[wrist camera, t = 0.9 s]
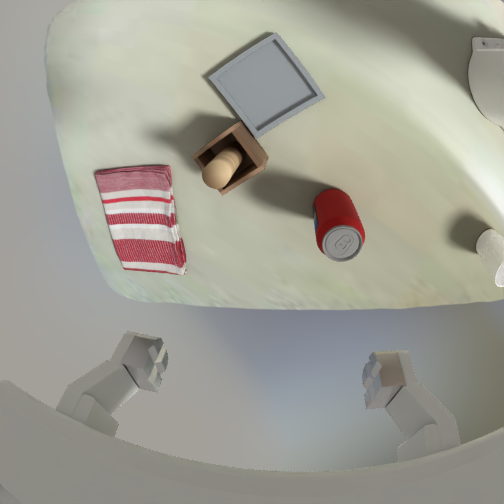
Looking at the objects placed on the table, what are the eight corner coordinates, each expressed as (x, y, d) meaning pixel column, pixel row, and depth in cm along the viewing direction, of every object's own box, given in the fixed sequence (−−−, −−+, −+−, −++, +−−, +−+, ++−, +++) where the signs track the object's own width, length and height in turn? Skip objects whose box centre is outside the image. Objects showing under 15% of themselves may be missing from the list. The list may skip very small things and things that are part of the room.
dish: (276, 33, 29) (276, 32, 28) (324, 97, 34) (325, 97, 33) (210, 77, 34) (208, 77, 33) (257, 137, 39) (256, 138, 38)
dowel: (237, 138, 39) (217, 157, 29) (250, 154, 40) (234, 179, 30) (221, 149, 40) (196, 172, 30) (233, 165, 42) (213, 193, 32)
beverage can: (304, 209, 45) (306, 249, 35) (329, 178, 41) (340, 211, 31) (334, 230, 46) (343, 274, 36) (360, 202, 42) (377, 240, 33)
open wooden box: (241, 120, 38) (232, 125, 32) (268, 157, 41) (264, 169, 35) (205, 145, 41) (191, 156, 35) (232, 180, 44) (222, 195, 38)
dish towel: (172, 162, 44) (166, 166, 42) (190, 271, 57) (186, 279, 55) (98, 169, 46) (90, 174, 44) (124, 265, 59) (119, 272, 57)
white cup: (502, 242, 40) (524, 269, 32) (479, 263, 44) (499, 293, 36) (493, 219, 38) (519, 245, 30) (469, 242, 42) (491, 272, 34)
